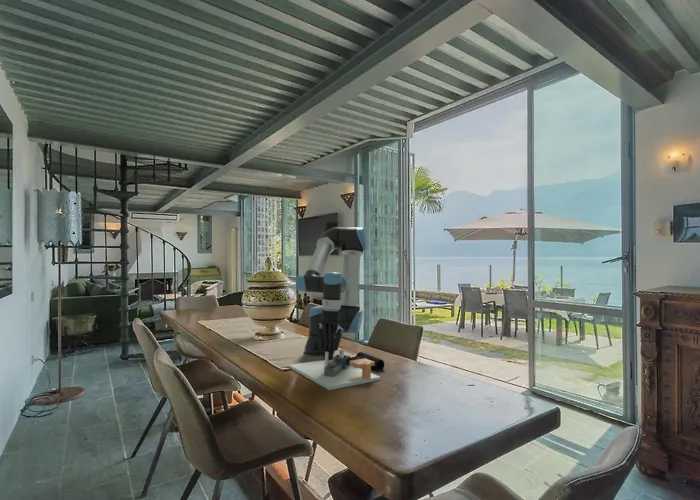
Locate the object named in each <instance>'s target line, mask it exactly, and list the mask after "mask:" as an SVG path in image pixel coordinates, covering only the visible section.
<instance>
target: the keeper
mask: <svg viewBox="0 0 700 500" xmlns="http://www.w3.org/2000/svg"><path fill="white" fill-rule="evenodd" d="M349 364H350V365H352V366H354V367H357V368H360V369H362V378H364V379H371V373H372V368H371V366H374V365H375V362H374V361H371V360H368V359H366V358H365V359H358V360H352V361H351V360H350V362H349Z"/></svg>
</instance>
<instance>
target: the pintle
mask: <svg viewBox="0 0 700 500" xmlns="http://www.w3.org/2000/svg"><path fill="white" fill-rule="evenodd" d="M338 355H339V358H344V355H345V350H339V351H338Z"/></svg>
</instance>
